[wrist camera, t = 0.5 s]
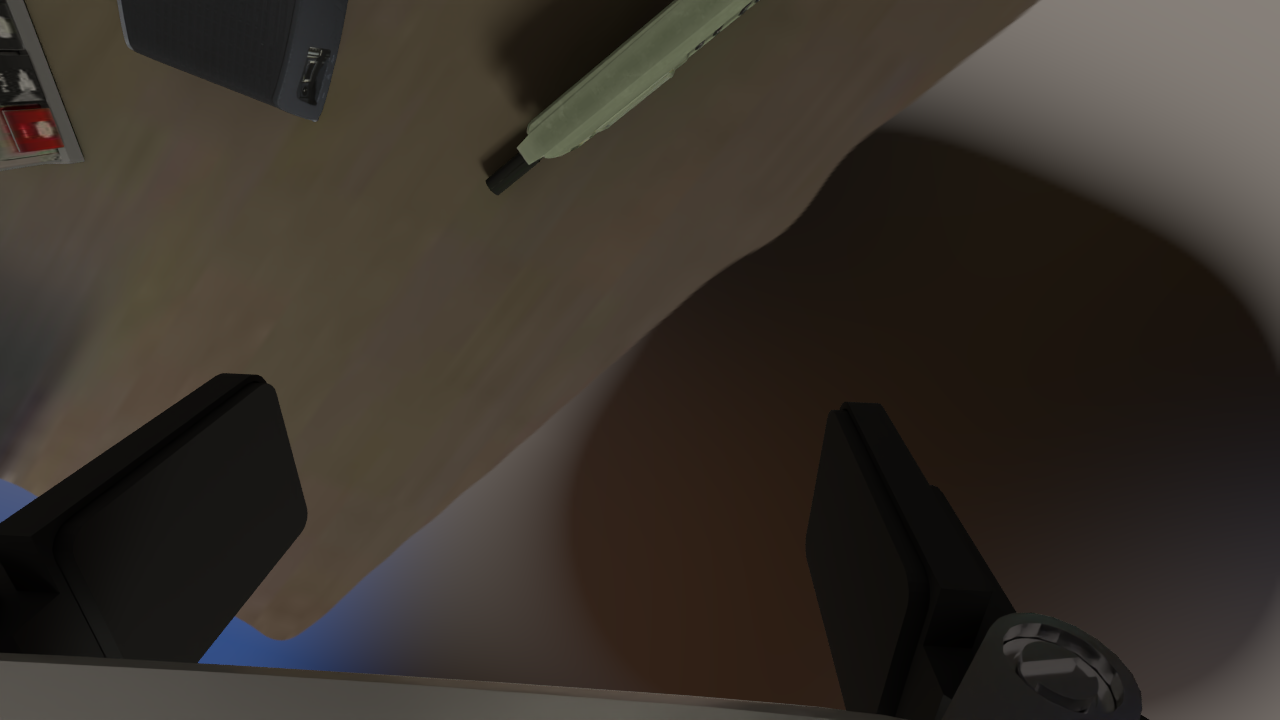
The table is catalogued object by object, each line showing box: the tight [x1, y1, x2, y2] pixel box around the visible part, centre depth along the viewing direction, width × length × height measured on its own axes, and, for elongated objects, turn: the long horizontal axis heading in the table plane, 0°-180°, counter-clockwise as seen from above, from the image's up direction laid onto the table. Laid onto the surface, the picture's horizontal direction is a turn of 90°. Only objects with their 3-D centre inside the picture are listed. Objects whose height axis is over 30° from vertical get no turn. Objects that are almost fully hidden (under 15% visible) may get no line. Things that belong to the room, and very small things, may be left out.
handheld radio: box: [486, 0, 759, 195], centre depth 37 cm, size 7×3×25 cm
